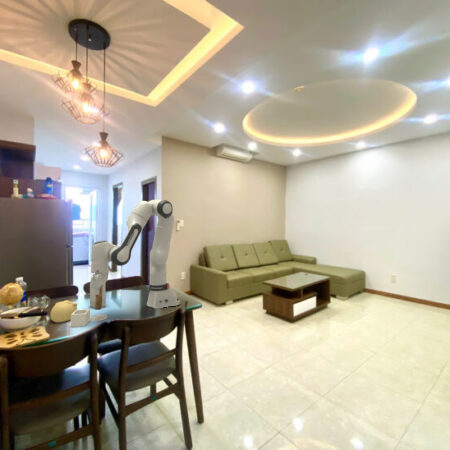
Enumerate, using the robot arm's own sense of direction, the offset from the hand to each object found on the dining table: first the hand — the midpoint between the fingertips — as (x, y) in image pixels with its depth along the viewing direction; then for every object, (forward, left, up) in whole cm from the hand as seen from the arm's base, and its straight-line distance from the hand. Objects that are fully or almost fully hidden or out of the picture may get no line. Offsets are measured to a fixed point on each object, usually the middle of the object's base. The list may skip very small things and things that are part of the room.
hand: (99, 293), depth 138 cm
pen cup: (+7, +7, -15) cm, 18 cm away
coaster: (0, 0, -15) cm, 15 cm away
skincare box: (+7, -21, -15) cm, 27 cm away
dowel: (0, 0, -9) cm, 9 cm away
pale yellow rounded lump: (+18, 0, -15) cm, 24 cm away
